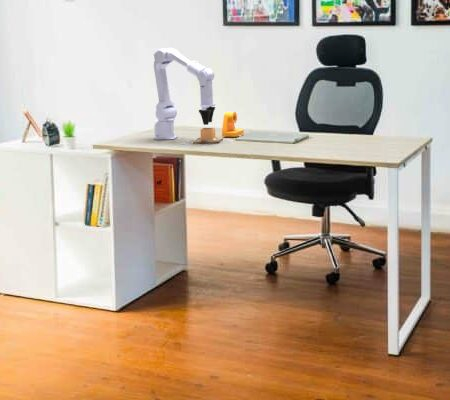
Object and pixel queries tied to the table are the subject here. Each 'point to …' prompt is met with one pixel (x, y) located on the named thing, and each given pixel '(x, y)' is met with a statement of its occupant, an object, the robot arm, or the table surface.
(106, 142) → the table surface
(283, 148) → the table surface
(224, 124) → the bracket
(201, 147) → the table surface
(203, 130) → the collar
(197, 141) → the post base
